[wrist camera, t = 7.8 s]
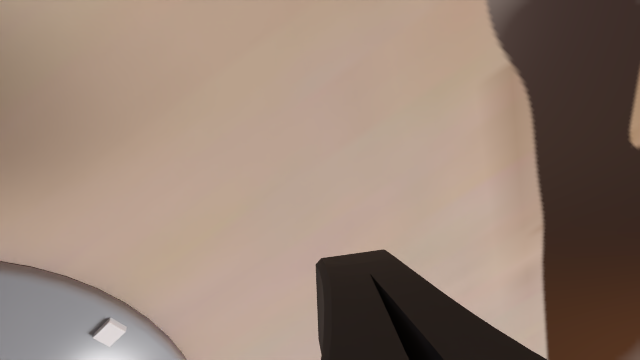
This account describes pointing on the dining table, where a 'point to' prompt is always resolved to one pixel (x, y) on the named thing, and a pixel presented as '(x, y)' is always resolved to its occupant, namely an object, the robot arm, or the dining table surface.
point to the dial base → (72, 321)
